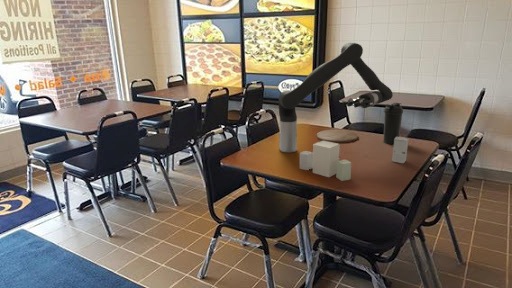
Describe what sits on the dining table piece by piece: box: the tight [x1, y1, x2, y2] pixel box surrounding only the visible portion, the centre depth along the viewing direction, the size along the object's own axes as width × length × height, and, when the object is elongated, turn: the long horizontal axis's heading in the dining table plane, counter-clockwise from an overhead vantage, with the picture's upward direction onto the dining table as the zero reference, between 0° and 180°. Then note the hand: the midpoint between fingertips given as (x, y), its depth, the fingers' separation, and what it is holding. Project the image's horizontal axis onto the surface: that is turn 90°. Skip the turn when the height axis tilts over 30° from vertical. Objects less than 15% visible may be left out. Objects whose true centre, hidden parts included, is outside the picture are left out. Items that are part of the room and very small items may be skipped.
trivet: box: [316, 129, 359, 144], centre depth 228 cm, size 25×25×2 cm
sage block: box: [335, 159, 352, 182], centre depth 164 cm, size 4×4×8 cm
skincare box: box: [391, 136, 410, 164], centre depth 182 cm, size 6×4×12 cm
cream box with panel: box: [312, 140, 340, 178], centre depth 171 cm, size 8×9×14 cm
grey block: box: [299, 150, 313, 171], centre depth 178 cm, size 4×4×8 cm
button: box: [339, 144, 342, 159], centre depth 172 cm, size 9×6×6 cm, turn 136°
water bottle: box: [383, 102, 404, 145], centre depth 212 cm, size 10×10×23 cm
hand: (351, 105), depth 183 cm, fingers open, 3 cm apart
